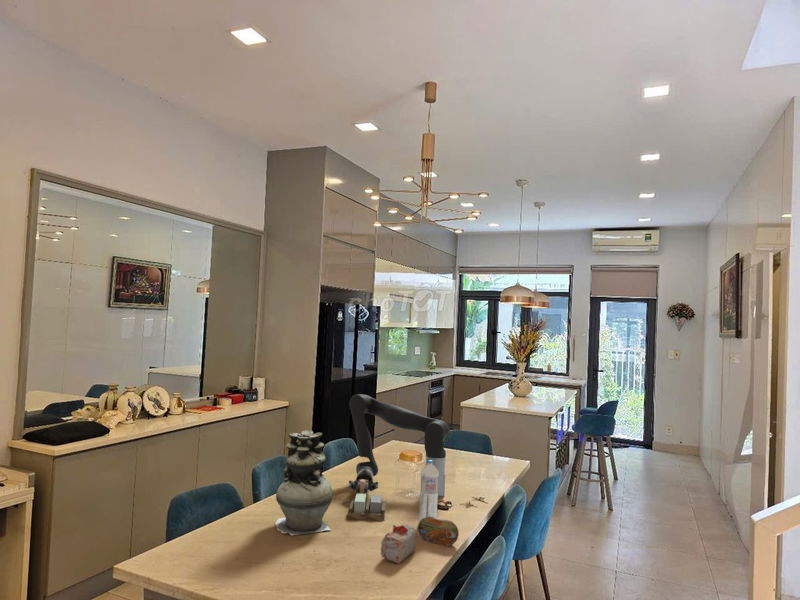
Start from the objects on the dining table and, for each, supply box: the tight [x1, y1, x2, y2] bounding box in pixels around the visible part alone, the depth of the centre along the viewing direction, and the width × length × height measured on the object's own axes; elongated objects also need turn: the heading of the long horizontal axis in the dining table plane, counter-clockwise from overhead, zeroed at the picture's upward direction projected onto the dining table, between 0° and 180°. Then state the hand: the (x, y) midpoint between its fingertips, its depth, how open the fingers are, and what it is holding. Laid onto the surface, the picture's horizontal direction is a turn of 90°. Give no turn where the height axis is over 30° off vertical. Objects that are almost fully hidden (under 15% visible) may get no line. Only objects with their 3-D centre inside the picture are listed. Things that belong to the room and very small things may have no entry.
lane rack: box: [348, 498, 386, 521], centre depth 215 cm, size 14×12×4 cm
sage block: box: [354, 479, 367, 513], centre depth 220 cm, size 4×16×10 cm, turn 0°
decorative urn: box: [274, 429, 334, 536], centre depth 200 cm, size 21×21×35 cm
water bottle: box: [418, 460, 439, 523], centre depth 206 cm, size 7×7×25 cm
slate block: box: [369, 494, 382, 514], centre depth 216 cm, size 4×9×6 cm, turn 0°
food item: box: [380, 524, 417, 565], centre depth 177 cm, size 14×8×10 cm, turn 154°
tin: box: [417, 517, 460, 547], centre depth 190 cm, size 15×3×8 cm, turn 62°
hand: (361, 490), depth 223 cm, fingers closed on sage block, 2 cm apart
